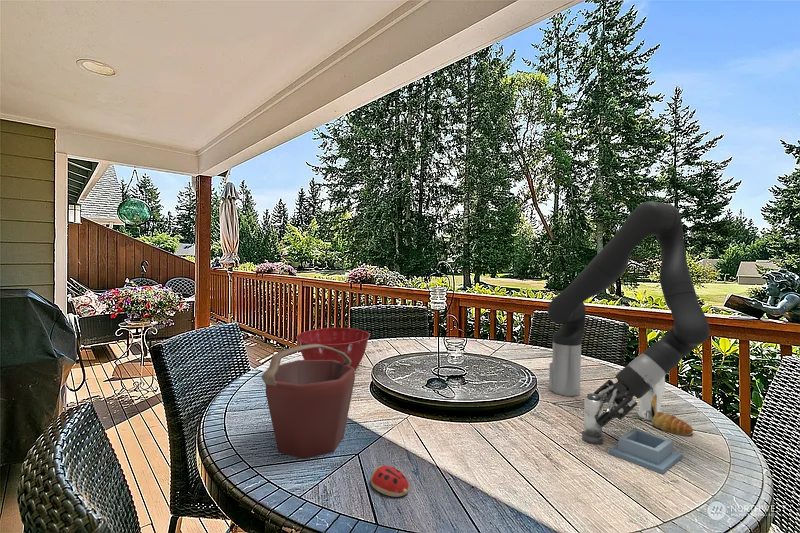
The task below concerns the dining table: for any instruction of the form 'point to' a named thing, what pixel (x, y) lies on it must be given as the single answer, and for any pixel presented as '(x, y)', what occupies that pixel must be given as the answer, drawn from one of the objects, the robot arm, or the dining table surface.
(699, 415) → the dining table surface
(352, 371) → the bucket
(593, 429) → the thermos
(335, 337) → the mixing bowl
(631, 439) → the dock
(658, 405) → the beer glass
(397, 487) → the ladybug figurine
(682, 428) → the pastry
